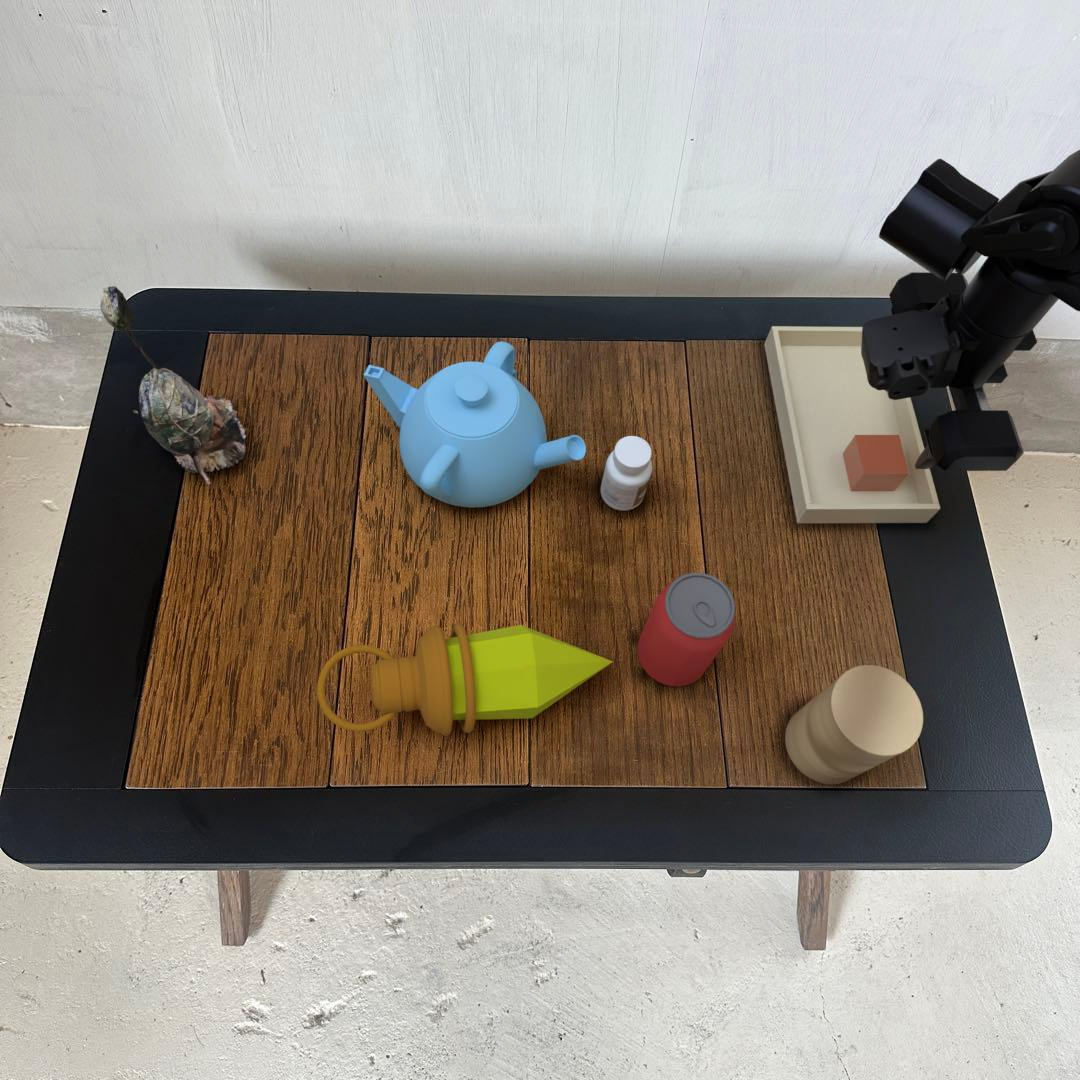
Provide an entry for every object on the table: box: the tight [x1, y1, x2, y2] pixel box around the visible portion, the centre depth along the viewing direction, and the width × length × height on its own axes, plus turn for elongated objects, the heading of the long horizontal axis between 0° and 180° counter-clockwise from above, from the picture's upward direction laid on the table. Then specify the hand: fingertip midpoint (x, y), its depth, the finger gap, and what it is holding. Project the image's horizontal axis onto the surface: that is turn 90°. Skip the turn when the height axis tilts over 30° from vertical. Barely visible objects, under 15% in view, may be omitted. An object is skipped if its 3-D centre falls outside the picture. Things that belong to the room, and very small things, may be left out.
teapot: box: [363, 340, 587, 508], centre depth 81 cm, size 15×17×11 cm
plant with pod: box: [99, 285, 247, 486], centre depth 76 cm, size 8×11×20 cm
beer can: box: [637, 572, 736, 687], centre depth 72 cm, size 7×7×12 cm
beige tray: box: [763, 325, 941, 524], centre depth 88 cm, size 22×13×3 cm, turn 2°
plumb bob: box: [316, 623, 614, 737], centre depth 71 cm, size 9×9×25 cm
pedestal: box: [784, 664, 924, 785], centre depth 69 cm, size 7×7×12 cm
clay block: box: [843, 435, 909, 491], centre depth 85 cm, size 4×4×4 cm
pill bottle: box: [600, 435, 653, 512], centre depth 81 cm, size 4×4×8 cm
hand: (908, 424), depth 78 cm, fingers open, 9 cm apart
